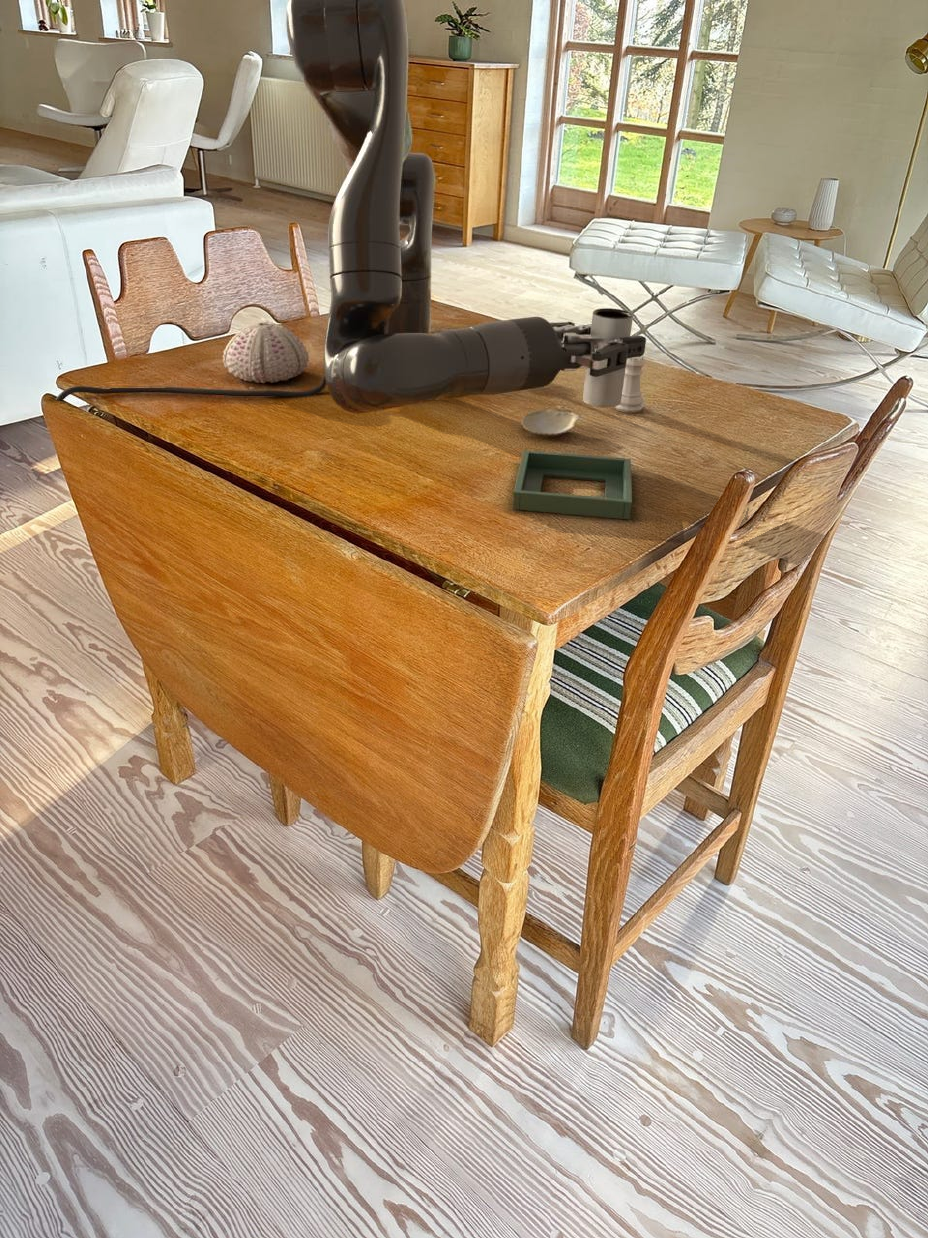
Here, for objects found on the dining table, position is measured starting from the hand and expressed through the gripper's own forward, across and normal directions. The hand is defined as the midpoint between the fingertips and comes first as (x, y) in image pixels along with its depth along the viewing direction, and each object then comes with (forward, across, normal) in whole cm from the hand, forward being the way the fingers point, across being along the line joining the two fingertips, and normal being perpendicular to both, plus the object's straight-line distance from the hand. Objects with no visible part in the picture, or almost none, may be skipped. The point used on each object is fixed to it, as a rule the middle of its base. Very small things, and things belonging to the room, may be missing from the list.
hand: (627, 339), depth 111 cm
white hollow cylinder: (-3, 0, +7) cm, 8 cm away
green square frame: (-6, -1, +18) cm, 19 cm away
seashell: (+3, +17, +18) cm, 25 cm away
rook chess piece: (+20, +20, +18) cm, 34 cm away
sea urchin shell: (-22, +59, +18) cm, 65 cm away
